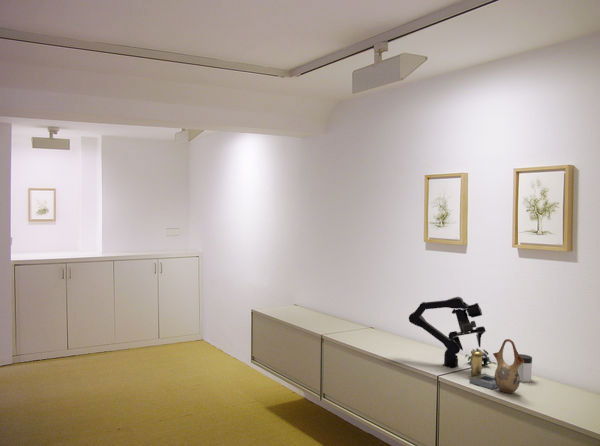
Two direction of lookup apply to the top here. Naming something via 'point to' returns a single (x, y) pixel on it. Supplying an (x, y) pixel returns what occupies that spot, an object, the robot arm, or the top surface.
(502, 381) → the ceramic vessel
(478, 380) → the grey square flat frame
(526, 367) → the jar
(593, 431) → the top surface
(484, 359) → the passion flower
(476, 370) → the brass goblet
